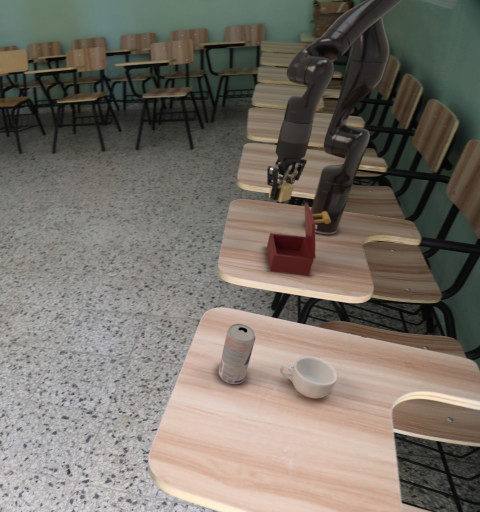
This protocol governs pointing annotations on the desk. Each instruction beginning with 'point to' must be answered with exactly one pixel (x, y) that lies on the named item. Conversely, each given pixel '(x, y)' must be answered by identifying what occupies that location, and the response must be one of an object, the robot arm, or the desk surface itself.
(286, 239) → the red cubby box
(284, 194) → the tan cube
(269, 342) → the desk surface
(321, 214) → the cover
